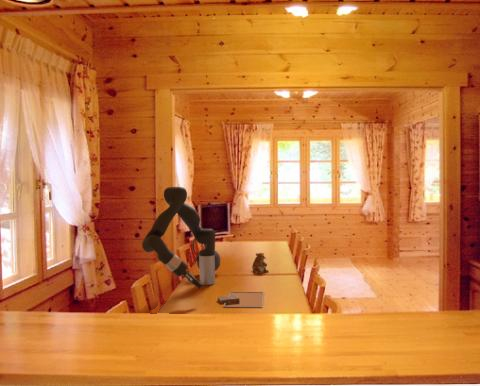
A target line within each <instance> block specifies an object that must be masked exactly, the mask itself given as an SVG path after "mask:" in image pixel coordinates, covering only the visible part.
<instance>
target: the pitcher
mask: <svg viewBox="0 0 480 386" xmlns="http://www.w3.org/2000/svg"><path fill="white" fill-rule="evenodd" d="M215 236H218V234H217V233H215ZM195 242H197V241H196V239H195V238H193V239H192V242H191V248H192V251H193V252H194V255H195V257H196V258H195V261H194V262H193V265H195V264H196V265H197V267H198V270H200V265H199V253H198V255H197V252H196V250H195V246H194V245H195ZM206 247H207V244H204V249H205V248H206ZM214 259H215V272H216V271H218V269H220V266H221V256H220V254H219V252H218V251H216V250H215V252H214Z"/></svg>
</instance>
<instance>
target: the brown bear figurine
mask: <svg viewBox="0 0 480 386" xmlns="http://www.w3.org/2000/svg"><path fill="white" fill-rule="evenodd" d="M255 256H256V257H255V258H254V260H253V263H252V265H251V268H252V271H253V273H254V274H256V275H258V274H261V273H269V270H268V269H267V268H266V267H268V263H267V262H265V261H264V260H267V257H266V256H265V253H264V252H258V253H257V252H256V253H255Z"/></svg>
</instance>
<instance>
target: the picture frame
mask: <svg viewBox="0 0 480 386" xmlns="http://www.w3.org/2000/svg"><path fill="white" fill-rule="evenodd" d="M234 295H236V296H238V297H239V299H240V301H237V302H227V303H226V302H225V303H224V304H223V306H222V308H226V309H233V308H234V309H235V308H236V309H240V308H241V309H263V306H264V305H263V304H264V299H265V292H264V291H229V293H228V295H227V296H234Z"/></svg>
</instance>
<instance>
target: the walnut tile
mask: <svg viewBox="0 0 480 386" xmlns="http://www.w3.org/2000/svg"><path fill="white" fill-rule="evenodd" d="M217 301H218V303H219V304H220V305H222V304H223V305H224V303H225V302H226V303H227V302H237V301H240V299H239V297H238V296H236V295H234V296H228V295H226V296H217Z"/></svg>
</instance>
